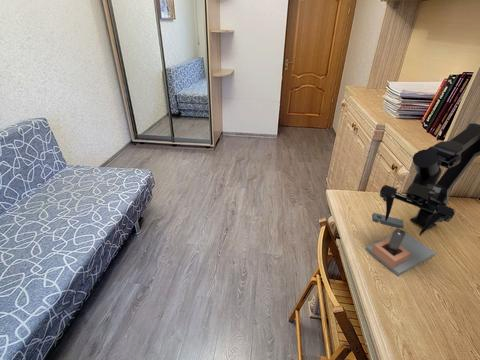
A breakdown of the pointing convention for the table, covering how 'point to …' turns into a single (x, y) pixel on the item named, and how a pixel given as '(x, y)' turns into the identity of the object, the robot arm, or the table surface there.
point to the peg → (395, 241)
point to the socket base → (401, 254)
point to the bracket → (388, 220)
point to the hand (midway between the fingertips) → (402, 227)
